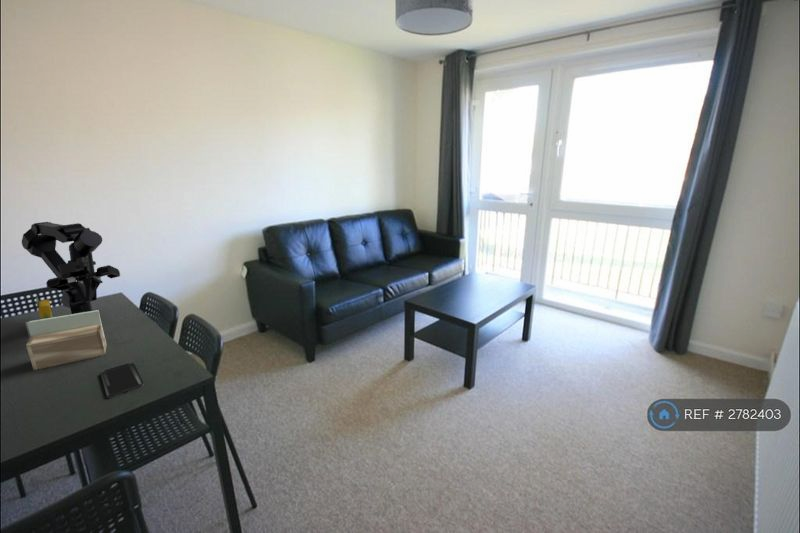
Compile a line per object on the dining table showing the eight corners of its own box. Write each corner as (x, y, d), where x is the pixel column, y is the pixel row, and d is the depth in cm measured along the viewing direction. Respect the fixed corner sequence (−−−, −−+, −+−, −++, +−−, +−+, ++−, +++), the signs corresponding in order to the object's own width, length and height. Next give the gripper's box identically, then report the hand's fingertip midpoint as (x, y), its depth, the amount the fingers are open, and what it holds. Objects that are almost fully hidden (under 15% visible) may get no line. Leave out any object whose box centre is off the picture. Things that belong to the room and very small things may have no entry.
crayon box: (56, 331, 126) (47, 300, 122) (44, 334, 124) (35, 302, 120) (56, 324, 131) (47, 294, 128) (44, 326, 129) (35, 296, 126)
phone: (133, 361, 108) (143, 384, 97) (133, 365, 108) (144, 388, 98) (99, 371, 102) (106, 396, 92) (100, 375, 103) (107, 400, 92)
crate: (38, 361, 108) (30, 336, 106) (106, 346, 117) (101, 323, 115) (33, 370, 104) (26, 345, 101) (105, 354, 112) (99, 331, 110)
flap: (36, 358, 109) (25, 321, 105) (106, 344, 118) (98, 309, 114) (35, 360, 108) (24, 323, 105) (106, 345, 117) (98, 311, 114)
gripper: (30, 258, 114) (35, 306, 111) (97, 243, 118) (104, 289, 115) (56, 268, 125) (62, 311, 122) (117, 254, 129) (124, 296, 126)
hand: (87, 302), depth 121 cm, fingers closed
